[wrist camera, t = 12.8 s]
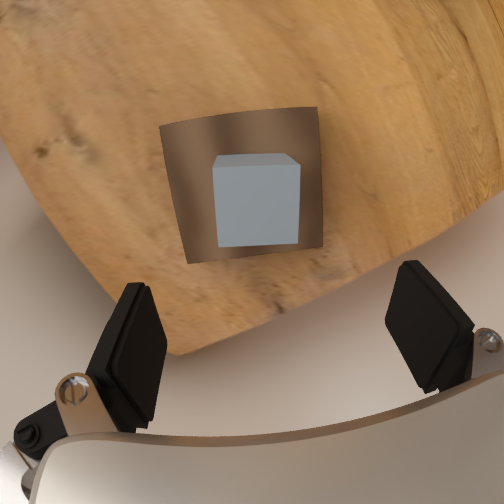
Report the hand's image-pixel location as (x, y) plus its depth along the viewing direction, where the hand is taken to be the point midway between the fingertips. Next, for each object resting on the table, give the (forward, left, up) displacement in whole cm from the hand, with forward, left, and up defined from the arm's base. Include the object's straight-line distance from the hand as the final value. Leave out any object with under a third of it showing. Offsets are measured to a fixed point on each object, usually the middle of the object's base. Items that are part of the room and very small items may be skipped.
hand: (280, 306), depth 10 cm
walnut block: (0, 0, -22) cm, 22 cm away
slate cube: (0, 0, -17) cm, 17 cm away
